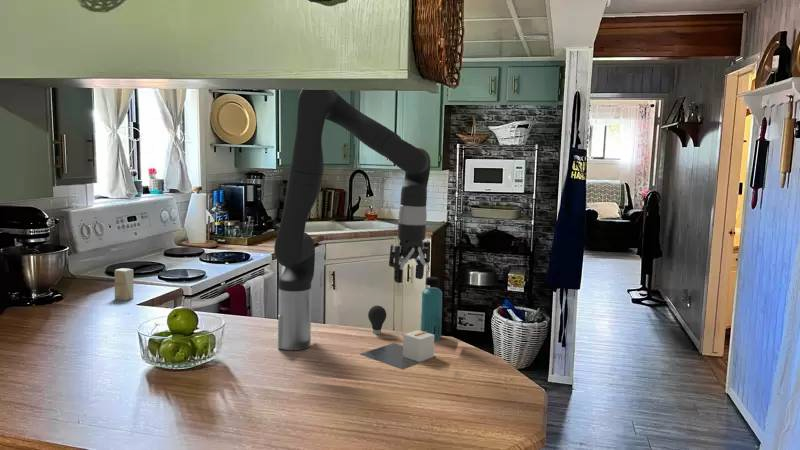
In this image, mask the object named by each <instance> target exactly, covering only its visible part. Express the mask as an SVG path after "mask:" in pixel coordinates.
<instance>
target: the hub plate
mask: <svg viewBox="0 0 800 450" xmlns="http://www.w3.org/2000/svg"><path fill="white" fill-rule="evenodd" d="M359 355H360V356H363V357H366V358H369V359H372V360H373V361H374V360H375V361H376V362H380V363H383V364H386V365H388V366H392V367H394V368H397V369H399V370H402V371H403V370H405V369H408V368H411V367H413V366H416V365H419V364H421V363H424V362H427V361H429V360H432V359H434V358H436V357H437V356H436V355H434V357H432V358H429V359H426V360H424V361H421V362H418V361H415V360H412V359H409V358H406V357H403V345H401V344H397V343H396V342H393V343H389V344H386V345H384V346H383V345H382V346H381V347H377V348H374V349H371V350H368V351H365V352H361V353H359Z"/></svg>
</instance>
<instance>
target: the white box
mask: <svg viewBox="0 0 800 450" xmlns="http://www.w3.org/2000/svg"><path fill="white" fill-rule="evenodd" d="M402 341H403V343H402V346H403V357H406V358H409V359H412V360H415V361H418V362H421V361H424V360H426V359H429V358H432V357H434V356H435V355H434V353H435V340H434V335H433V334H430V333H427V332H426V331H424V332H423V331H421V330H419V329H416V330H414V331H410V332H407V333H404V334H403V339H402ZM432 359H433V358H432ZM424 362H425V361H424Z"/></svg>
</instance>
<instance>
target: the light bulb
mask: <svg viewBox="0 0 800 450" xmlns="http://www.w3.org/2000/svg"><path fill="white" fill-rule="evenodd" d="M386 311H387V310H386V309H385V307H383V306H381V305H373V306H372V307H371V308H370V309H369V311H368V313H367V317H368V320H369V322H370V324H371V327H372V333H373V334H375V335H380V334H382V328H383V325H384V323H385V321H386V319H387V312H386Z"/></svg>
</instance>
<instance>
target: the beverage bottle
mask: <svg viewBox="0 0 800 450" xmlns="http://www.w3.org/2000/svg"><path fill="white" fill-rule="evenodd" d="M425 285H426V286H427V287H426V288H424V289H423V290H422V292H421V313H420V314H421V315H420V331H423V332H424V331H426V332H427V333H430V334H433V335H434V341H439V340H441V337H442V335H443V334H442V330H443V323H442V321H443V319H442V318H443V291H442V290H441V289H440V288H439V287H437V286H439V285H440V278H439V277H438V276H437V277H436V276H428V277H426V279H425ZM428 286H429V287H428Z"/></svg>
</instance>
